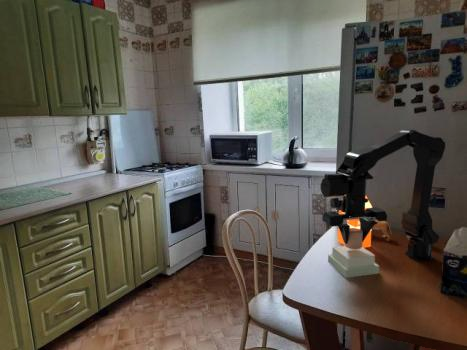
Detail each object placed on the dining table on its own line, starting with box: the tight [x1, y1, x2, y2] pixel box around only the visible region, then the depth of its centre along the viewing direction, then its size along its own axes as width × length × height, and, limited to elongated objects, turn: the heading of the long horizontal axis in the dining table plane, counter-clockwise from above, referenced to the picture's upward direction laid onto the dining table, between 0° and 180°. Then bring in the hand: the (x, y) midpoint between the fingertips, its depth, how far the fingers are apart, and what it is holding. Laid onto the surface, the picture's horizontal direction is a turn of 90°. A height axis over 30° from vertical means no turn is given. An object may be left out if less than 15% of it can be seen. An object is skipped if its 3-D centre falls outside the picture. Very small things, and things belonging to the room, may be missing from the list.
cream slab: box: [331, 245, 376, 268], centre depth 105 cm, size 9×9×3 cm
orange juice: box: [337, 194, 374, 249], centre depth 121 cm, size 8×9×20 cm
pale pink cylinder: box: [344, 228, 363, 249], centre depth 104 cm, size 5×5×5 cm
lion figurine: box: [372, 219, 397, 242], centre depth 129 cm, size 15×5×9 cm, turn 52°
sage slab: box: [327, 253, 380, 279], centre depth 106 cm, size 11×11×3 cm
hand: (353, 242), depth 104 cm, fingers closed on pale pink cylinder, 5 cm apart
